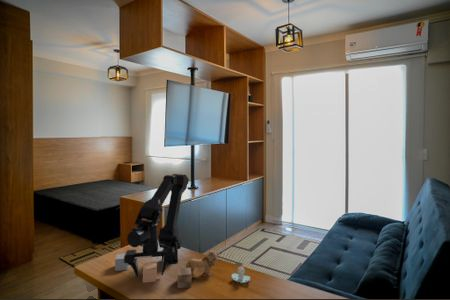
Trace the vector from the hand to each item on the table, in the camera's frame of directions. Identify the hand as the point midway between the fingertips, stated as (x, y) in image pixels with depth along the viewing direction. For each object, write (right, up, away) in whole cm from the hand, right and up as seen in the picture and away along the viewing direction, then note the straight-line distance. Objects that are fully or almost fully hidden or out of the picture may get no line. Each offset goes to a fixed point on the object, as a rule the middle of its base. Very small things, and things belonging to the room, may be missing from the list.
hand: (150, 275), depth 107 cm
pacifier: (+36, -2, 0) cm, 36 cm away
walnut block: (+14, -2, -3) cm, 14 cm away
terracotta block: (0, -1, 0) cm, 1 cm away
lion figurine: (+20, -1, +4) cm, 20 cm away
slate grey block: (-14, 0, +8) cm, 16 cm away
